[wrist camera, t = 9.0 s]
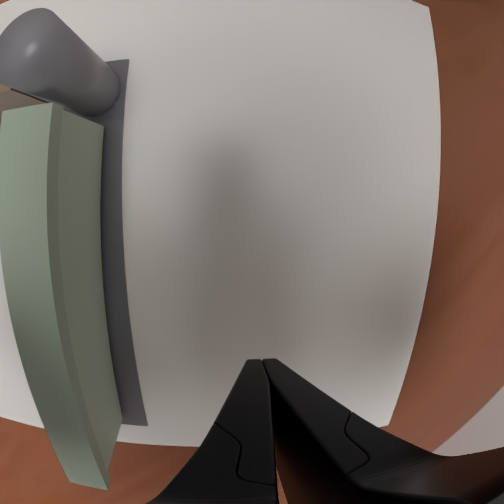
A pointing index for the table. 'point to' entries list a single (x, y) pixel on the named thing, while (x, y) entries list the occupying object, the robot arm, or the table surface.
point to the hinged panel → (59, 281)
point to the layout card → (243, 192)
